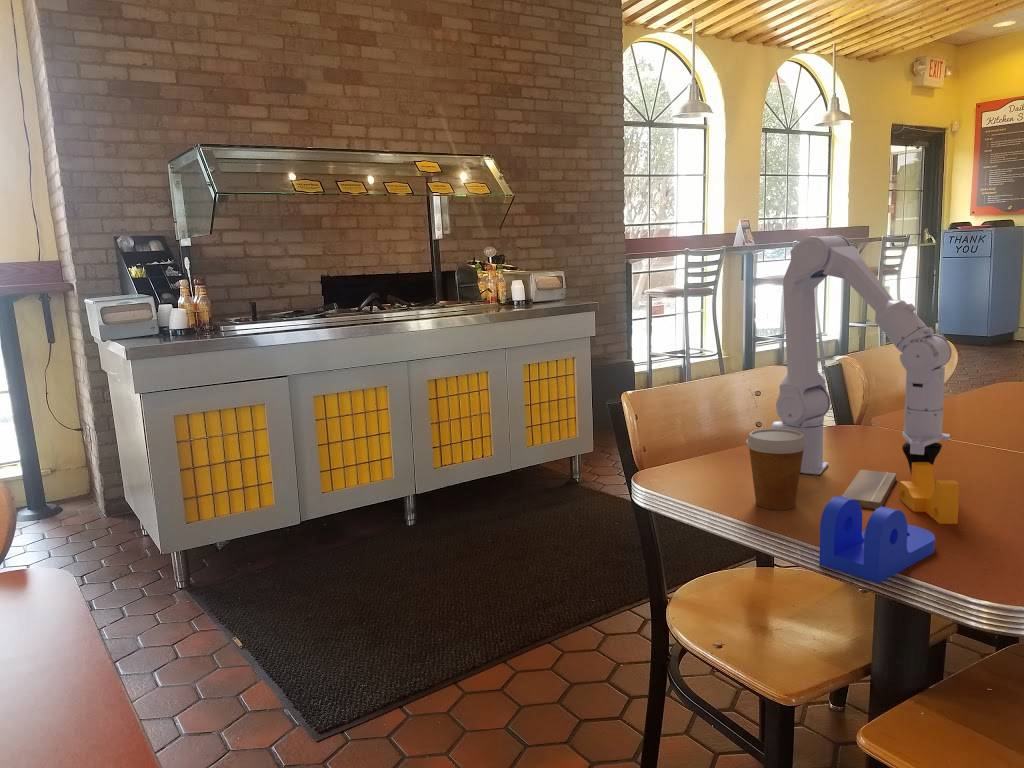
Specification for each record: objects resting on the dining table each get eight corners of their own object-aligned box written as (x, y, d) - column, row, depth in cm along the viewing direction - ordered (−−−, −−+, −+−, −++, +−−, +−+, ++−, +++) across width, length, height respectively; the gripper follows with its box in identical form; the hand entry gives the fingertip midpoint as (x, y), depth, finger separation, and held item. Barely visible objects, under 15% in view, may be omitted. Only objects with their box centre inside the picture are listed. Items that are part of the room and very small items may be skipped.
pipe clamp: (899, 499, 132) (900, 462, 131) (926, 499, 131) (928, 462, 130) (927, 524, 120) (928, 484, 119) (957, 524, 119) (959, 483, 118)
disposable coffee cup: (779, 517, 126) (780, 444, 124) (733, 502, 134) (734, 434, 132) (818, 505, 130) (819, 434, 128) (771, 491, 138) (772, 425, 136)
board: (840, 504, 130) (840, 497, 130) (860, 475, 145) (860, 469, 145) (880, 509, 127) (880, 502, 127) (896, 479, 142) (896, 473, 141)
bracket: (878, 584, 101) (880, 517, 99) (819, 565, 107) (820, 502, 106) (945, 547, 111) (948, 486, 110) (887, 532, 118) (889, 474, 116)
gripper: (946, 418, 124) (942, 501, 126) (954, 401, 136) (951, 477, 138) (897, 415, 128) (894, 495, 130) (909, 398, 140) (906, 472, 142)
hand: (920, 485), depth 134 cm, fingers closed
